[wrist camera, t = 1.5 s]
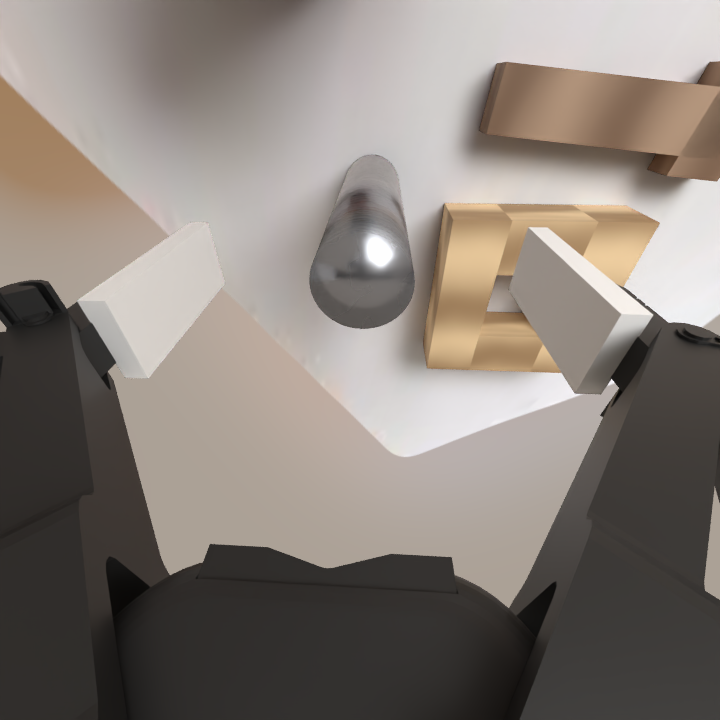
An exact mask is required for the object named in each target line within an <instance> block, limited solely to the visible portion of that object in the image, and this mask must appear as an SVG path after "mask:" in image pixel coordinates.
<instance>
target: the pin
mask: <svg viewBox="0 0 720 720" xmlns="http://www.w3.org/2000/svg"><path fill="white" fill-rule="evenodd" d="M414 282H415V280H414V271H413V265H412V259H411V253H410V247H409V241H408V235H407V228H406V222H405V216H404V210H403V204H402V198H401V192H400V185H399V179H398V175H397V172H396V170H395V168H394V167H393V165H392V164H391V163H390V162H389V161H388V160H387V159H385V158H383V157H381V156H378V155H367V156H363V157H361V158H359V159H358V160H356V161H355V162H354V163H353V164H352V166H351V167H350V168H349V170H348V172H347V175H346V178H345V180H344V183H343V185H342V188H341V191H340V193H339V196H338V198H337V201H336V204H335V206H334V209H333V211H332V214H331V217H330V219H329V222H328V224H327V227H326V230H325V232H324V235H323V238H322V240H321V243H320V245H319V248H318V251H317V253H316V256H315V258H314V261H313V264H312V267H311V270H310V289H311V292H312V295H313V298H314V300H315V302H316V303H317V305H318V307H319V308H320V309H321V310H322V311H323V312H324V313H325V314H326V315H327V316H328V317H329V318H331V319H332V320H334V321H336V322H337V323H340V324H342V325H344V326H348V327H352V328H360V329H368V328H375V327H379V326H382V325H384V324H387V323H389V322H391V321H392V320H394V319H395V318H397V317H398V316H399V315H400V314H401V313H402V312H403V311H404V310H405V308H406V307H407V306H408V304H409V302H410V300H411V298H412V295H413V291H414Z"/></svg>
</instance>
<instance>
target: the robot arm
mask: <svg viewBox="0 0 720 720" xmlns="http://www.w3.org/2000/svg"><path fill="white" fill-rule="evenodd" d="M224 284H225V280H224V276H223V273H222V269H221V266H220V262H219V258H218V255H217V251H216V248H215V244H214V241H213V237H212V234H211V230H210V227H209V223H208V222H190V223H188V224H187V225H185V226H184V227H182V228H181V229H180V230H178V231H177V232H175V233H174V234H172V235H171V236H169V237H168V238H167V239H165V240H164V241H162V242H161V243H159V244H158V245H157V246H155V247H153V248H152V249H151V250H149V251H148V252H146V253H145V254H143V255H142V256H140V257H139V258H138V259H136V260H135V261H134V262H132V263H130V264H129V265H127V266H126V267H124V268H123V269H122V270H120V271H119V272H117V273H116V274H115V275H113V276H111V277H110V278H109V279H107V280H106V281H104V282H103V283H101V284H100V285H98V286H97V287H96V288H94V289H93V290H91V291H90V292H88V293H87V294H85V295H84V296H82V297H81V298H80V299H78V300H77V302H76V303H75V304H74V305H72V306H71V307H69V308H68V309H66V307H65V306H64V304H63V303H62V301H61V300H60V298H59V297H58V295H57V294H56V292H55V291H54V289H53V288H52V286H51V285H50V283H49V282H48V281H43V280H29V281H23V282H18V283H14V284H10V285H7V286H4V287H2V288H0V320H1V321H2V322H3V324H4V325H5V326H6V327H7V329H6V332H0V720H720V600H719V599H717V598H716V597H714V596H712V595H711V594H709V593H708V592H706V591H705V589H704V578H705V577H704V576H705V567H706V558H707V550H708V541H709V532H710V523H711V514H712V504H713V495H714V486H715V488H716V491H717V495H718V499H719V502H720V336H718V335H716V334H715V333H713V332H711V331H709V330H706V329H704V328H702V327H698V326H694V325H690V324H686V323H675V322H674V323H668V322H667V321H666V320H664V319H663V318H662V317H661V316H659V315H658V314H657V313H656V312H654V311H653V310H652V309H651V308H650V307H648V306H645V303H643V302H642V301H641V300H640V299H636V298H637V297H636V296H635V295H633V294H632V293H631V292H630V291H629V290H627V289H626V288H624V287H622V286H620V285H617V284H615V283H614V282H613V281H612V280H611V279H609V278H608V277H607V276H606V275H604V274H603V273H602V272H601V271H600V270H598V269H597V268H596V267H595V266H594V265H592V264H591V263H590V262H589V261H588V260H586V259H585V258H584V257H583V256H581V255H580V254H579V253H578V252H577V251H575V250H574V249H573V248H572V247H571V246H569V245H568V244H567V243H566V242H565V241H563V240H562V239H561V238H560V237H558V236H557V235H556V234H555V233H554V232H552V231H551V230H550V229H549V228H547V227H528V229H527V232H526V236H525V239H524V242H523V245H522V248H521V251H520V255H519V258H518V261H517V264H516V267H515V270H514V274H513V277H512V280H511V283H510V286H509V289H508V290H509V291H510V293H511V294H512V296H513V297H514V299H515V301H516V302H517V304H518V305H519V307H520V308H521V310H522V312H523V313H524V315H525V316H526V318H527V319H528V321H529V323H530V324H531V326H532V327H533V329H534V330H535V332H536V333H537V335H538V337H539V338H540V340H541V341H542V343H543V344H544V346H545V348H546V349H547V351H548V352H549V354H550V355H551V357H552V359H553V360H554V362H555V363H556V365H557V366H558V368H559V370H560V371H561V373H562V374H563V376H564V377H565V379H566V381H567V382H568V384H569V385H570V387H571V388H572V390H573V392H574V393H576V394H602V392H603V390H604V389H605V388H606V386H607V385H608V383H609V382H610V380H611V379H612V380H613V381H614V382H615V384H616V385H617V386H618V387H619V389H618V391H617V392H616V393H615V395H614V396H613V398H612V399H611V401H610V402H609V404H608V405H607V406H606V408H605V409H604V411H603V412H602V413H601V415H600V416H602V417H603V419H602V421H601V423H600V425H599V427H598V430H597V432H596V434H595V436H594V438H593V440H592V442H591V444H590V446H589V449H588V451H587V453H586V455H585V457H584V459H583V461H582V463H581V466H580V468H579V470H578V472H577V474H576V476H575V479H574V480H573V482H572V485H571V487H570V489H569V491H568V493H567V495H566V497H565V499H564V502H563V504H562V506H561V508H560V510H559V512H558V514H557V516H556V518H555V521H554V523H553V525H552V527H551V529H550V531H549V533H548V535H547V538H546V540H545V542H544V544H543V546H542V548H541V550H540V552H539V554H538V557H537V559H536V561H535V563H534V565H533V567H532V570H531V571H530V574H529V575H528V578H527V580H526V581H525V583H524V585H523V587H522V588H521V590H520V591H519V593H518V594H517V596H516V597H515V599H514V600H513V603H512V604H511V606H510V608H508V607H506V606H505V605H504V604H503V603H502V602H500V601H499V600H498V599H497V598H495V597H494V596H493V595H491V594H490V593H488V592H487V591H485V590H484V589H482V588H481V587H479V586H477V585H475V584H473V583H471V582H469V581H467V580H465V579H463V578H461V577H458V576H455V575H454V569H453V563H452V558H451V557H436V556H435V557H434V556H418V555H400V554H389V555H385V556H381V557H377V558H373V559H368V560H365V561H360V562H356V563H352V564H348V565H343V566H339V567H335V568H322V567H319V566H316V565H314V564H311V563H309V562H306V561H303V560H301V559H298V558H295V557H292V556H290V555H287V554H284V553H282V552H279V551H276V550H273V549H271V548H268V547H253V546H235V545H234V546H233V545H215V544H210V545H209V548H208V551H207V554H206V556H205V559H204V561H203V563H199V564H196V565H193V566H191V567H188V568H185V569H182V570H181V571H178V572H176V573H174V574H172V575H169V573H168V571H167V570H166V568H165V566H164V564H163V561H162V559H161V556H160V553H159V549H158V545H157V542H156V538H155V534H154V530H153V527H152V523H151V519H150V515H149V511H148V508H147V504H146V500H145V496H144V493H143V489H142V485H141V481H140V478H139V474H138V471H137V467H136V463H135V459H134V456H133V452H132V448H131V444H130V441H129V437H128V433H127V429H126V425H125V422H124V418H123V414H122V411H121V407H120V403H119V399H118V396H117V392H116V388H115V385H114V381H113V379H112V378H111V376H110V375H109V373H108V370H109V369H110V368H111V367H112V366H113V365H114V364H115V363H116V365H117V366H118V368H119V370H120V371H121V373H122V374H123V376H124V377H125V378H143V379H148V378H149V377H150V376H151V375H152V373H153V372H154V371H155V370H156V369H157V367H158V366H159V365H160V364H161V362H162V361H163V360H164V359H165V357H166V356H167V355H168V354H169V352H170V351H171V350H172V349H173V347H174V346H175V345H176V344H177V342H178V341H179V340H180V339H181V338H182V336H183V335H184V334H185V333H186V331H187V330H188V329H189V328H190V326H191V325H192V324H193V323H194V321H195V320H196V319H197V318H198V316H199V315H200V314H201V313H202V311H203V310H204V309H205V308H206V306H207V305H208V304H209V303H210V302H211V300H212V299H213V298H214V297H215V295H216V294H217V293H218V292H219V291H220V289H221V288H222V287H223V286H224Z"/></svg>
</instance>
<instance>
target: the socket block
mask: <svg viewBox="0 0 720 720" xmlns="http://www.w3.org/2000/svg"><path fill="white" fill-rule="evenodd" d="M659 224H660V223H659V222H657V221H655V220H653V219H651V218H649V217H647V216H645V215H644V214H642V213H640V212H638V211H636V210H634V209H632V208H630V207H628V206H618V205H541V204H463V203H445V205H444V211H443V218H442V224H441V231H440V237H439V244H438V250H437V256H436V263H435V269H434V276H433V282H432V289H431V295H430V301H429V308H428V314H427V321H426V327H425V334H424V340H423V346H424V352H425V359H426V365H427V368H431V369H461V370H491V371H521V372H551V373H561V371H560V370H559V368H558V366H557V365H556V363H555V362H554V360H553V359H552V357H551V355H550V354H549V352H548V351H547V349H546V348H545V346H544V344H543V343H542V341H541V340H540V338H539V337H538V335H537V333H536V332H535V330H534V329H533V327H532V326H531V324H530V323H529V321H528V319H527V318H526V316H525V315H524V313H512V312H486V310H487V307H488V303H489V300H490V296H491V293H492V290H493V286H494V283H495V279H496V276H497V275H511V276H513V274H514V270H515V267H516V264H517V261H518V258H519V255H520V251H521V248H522V245H523V242H524V239H525V236H526V232H527V229H528V227H547V228H549V229H550V230H551V231H552V232H554V233H555V234H556V235H557V236H558V237H560V238H561V239H562V240H563V241H565V242H566V243H567V244H568V245H569V246H571V247H572V248H573V249H574V250H575V251H577V252H578V253H579V254H580V255H581V256H583V257H584V258H585V259H586V260H588V261H589V262H590V263H591V264H592V265H594V266H595V267H596V268H597V269H598V270H600V271H601V272H602V273H603V274H604V275H606V276H607V277H608V278H609V279H611V280H612V281H613V282H614V283H615V284H617V285H620V286H622V287H623V286H624V285H625V283H626V281H627V279H628V278H629V276H630V274H631V272H632V271H633V269H634V267H635V265H636V264H637V262H638V260H639V258H640V257H641V255H642V253H643V252H644V250H645V248H646V246H647V245H648V243H649V241H650V239H651V238H652V236H653V234H654V232H655V231H656V229H657V227H658V225H659Z"/></svg>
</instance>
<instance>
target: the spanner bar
mask: <svg viewBox="0 0 720 720" xmlns="http://www.w3.org/2000/svg"><path fill="white" fill-rule="evenodd" d="M479 131H481V132H483V133H485V134H488V135H497V136H506V137H515V138H523V139H532V140H541V141H550V142H559V143H568V144H577V145H586V146H595V147H603V148H612V149H621V150H630V151H639V152H648V153H657V154H656V155H655V157H654V159H653V161H652V162H651V164H650V166H649V168H648V169H647V170H650V171H653V172H656V173H659V174H663V175H666V176H672V177H681V178H690V179H699V180H708V181H718V179H719V178H720V61H719V62H709V64H708V66H707V68H706V69H705V71H704V73H703V74H702V76H701V78H700V80H699V81H698V83H697V84H691V83H683V82H674V81H665V80H657V79H648V78H640V77H631V76H622V75H614V74H605V73H597V72H588V71H579V70H571V69H562V68H554V67H545V66H537V65H528V64H519V63H511V62H504V63H497V65H496V69H495V72H494V76H493V80H492V84H491V87H490V91H489V95H488V99H487V102H486V106H485V110H484V114H483V117H482V121H481V125H480V129H479Z"/></svg>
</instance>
